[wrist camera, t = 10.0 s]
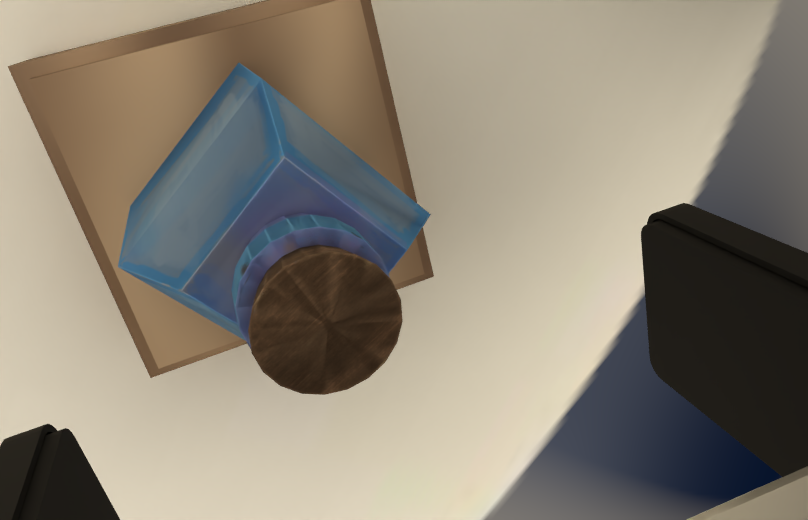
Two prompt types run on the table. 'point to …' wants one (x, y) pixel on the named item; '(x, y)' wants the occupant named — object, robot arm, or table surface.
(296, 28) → the pedestal
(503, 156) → the table surface
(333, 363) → the perfume bottle
